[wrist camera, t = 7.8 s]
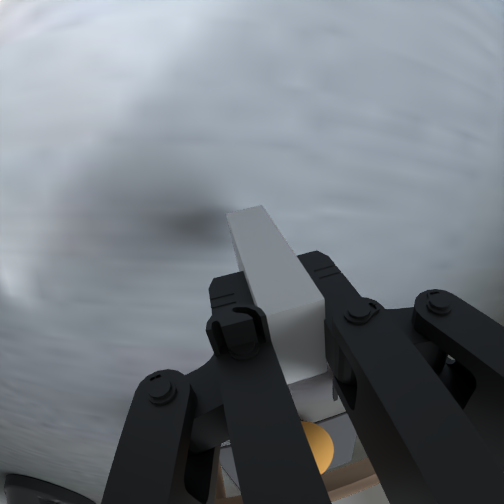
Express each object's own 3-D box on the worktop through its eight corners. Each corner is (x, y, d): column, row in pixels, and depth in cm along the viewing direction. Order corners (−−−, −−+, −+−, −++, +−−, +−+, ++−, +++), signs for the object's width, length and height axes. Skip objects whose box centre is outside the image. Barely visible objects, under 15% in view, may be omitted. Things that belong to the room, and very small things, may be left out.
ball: (254, 420, 24) (269, 459, 25) (266, 464, 18) (281, 501, 19) (317, 400, 24) (325, 441, 25) (340, 440, 19) (345, 479, 20)
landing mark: (242, 490, 31) (242, 492, 31) (210, 449, 24) (210, 451, 24) (350, 459, 32) (350, 461, 32) (360, 406, 25) (361, 408, 25)
